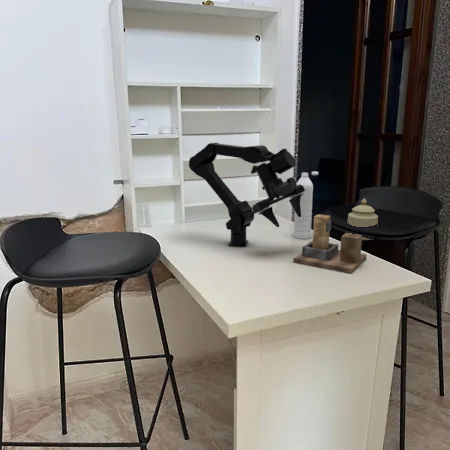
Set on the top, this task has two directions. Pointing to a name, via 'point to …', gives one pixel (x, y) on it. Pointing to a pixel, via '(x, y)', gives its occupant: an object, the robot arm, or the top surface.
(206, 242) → the top surface
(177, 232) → the top surface
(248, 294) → the top surface
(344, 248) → the wooden fixture board
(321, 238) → the beige block
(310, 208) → the water bottle
